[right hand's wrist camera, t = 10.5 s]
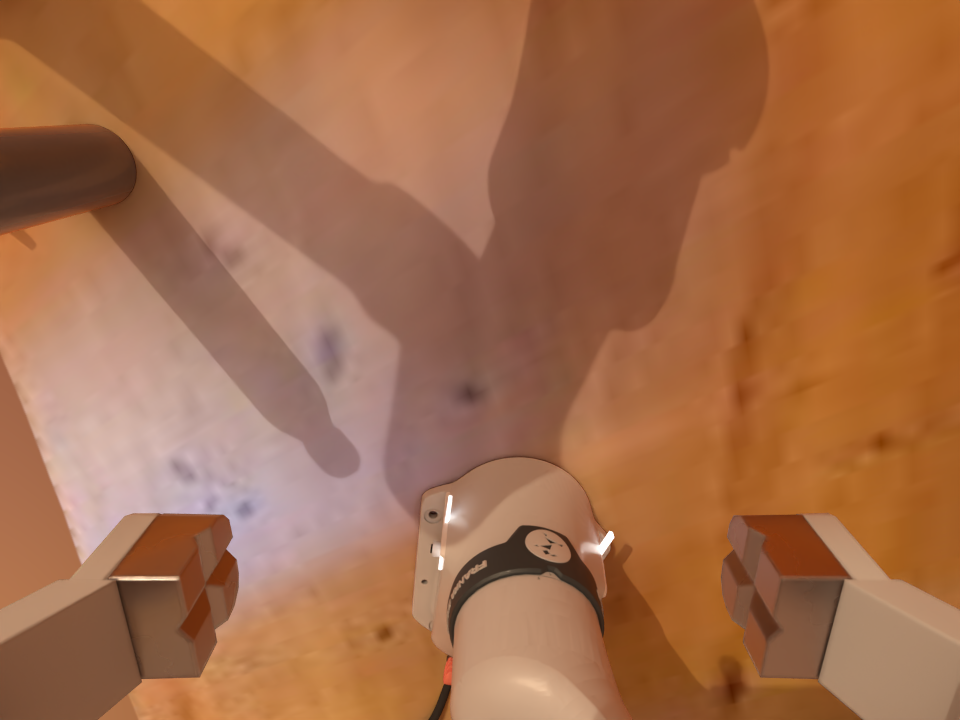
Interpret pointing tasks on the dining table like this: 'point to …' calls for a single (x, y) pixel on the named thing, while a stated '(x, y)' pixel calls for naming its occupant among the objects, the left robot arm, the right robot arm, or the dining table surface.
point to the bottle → (60, 173)
